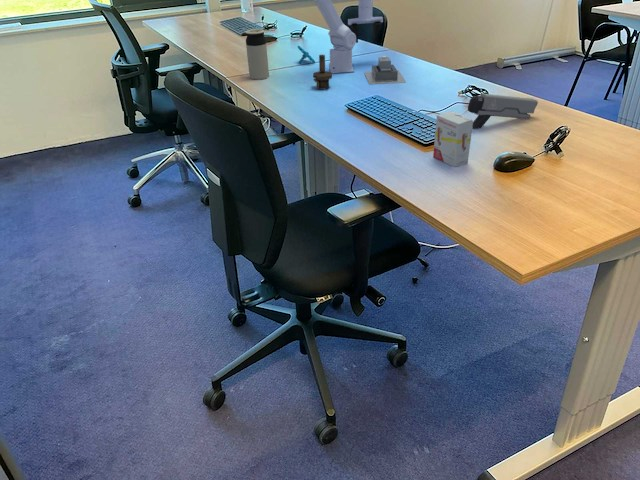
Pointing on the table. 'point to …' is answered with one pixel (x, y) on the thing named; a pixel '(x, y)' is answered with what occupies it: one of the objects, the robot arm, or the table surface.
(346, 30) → the robot arm
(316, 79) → the industrial component
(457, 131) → the ink box
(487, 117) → the gun
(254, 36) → the travel mug
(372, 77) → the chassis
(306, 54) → the teal angled stand
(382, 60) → the servo
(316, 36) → the table surface
